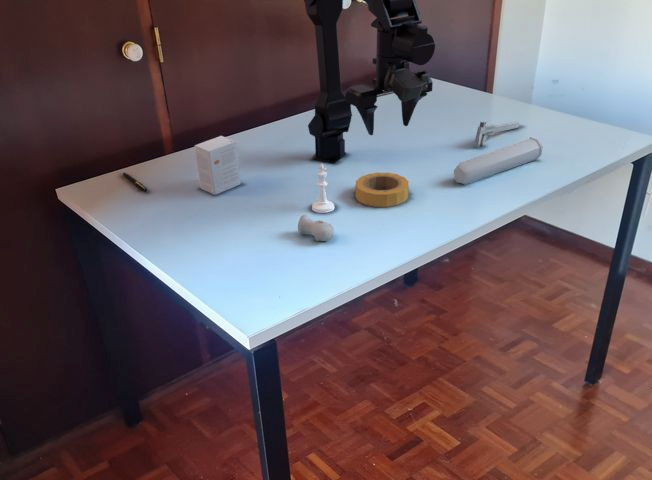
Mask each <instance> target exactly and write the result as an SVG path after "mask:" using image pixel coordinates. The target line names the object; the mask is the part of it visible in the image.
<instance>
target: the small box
mask: <svg viewBox="0 0 652 480" xmlns="http://www.w3.org/2000/svg"><path fill="white" fill-rule="evenodd" d="M237 143H238V142H237V140H234V139H231V138H228V137H226V136H223V135H219V136H217V137H214V138H211V139H208V140H206V141H203V142H200V143H197V144H195V145H194V152H195V157H196V158H195V160H196V167H197V173H198V180H199V187H200V189H201V190H203V191H205V192H207V193H210V194H212V195H214V196H217V195H219V194H221V193H224V192H226V191H228V190H231V189H233V188H235V187H238V186H241V185H242V179H241V171H240V161H239V153H238V144H237Z"/></svg>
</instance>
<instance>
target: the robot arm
mask: <svg viewBox="0 0 652 480" xmlns="http://www.w3.org/2000/svg"><path fill="white" fill-rule="evenodd" d="M362 1H363V2H365V3H366V4H367V8H368V9H367V10H368V11H369V12H370V14H372V15H373V16H374V17H375V19H374V20H373V21H372V22H371V23H370V27H372V28H375V29H376V57H372V64H373V65H375V66H376V67H375V78H372V85H374V86H375V87H369V86H366V85H364V84H358V85H354V86H349V87H348V88H347V89H346V91H345V92H343V90H342V80H341V79H342V78H341V66H340V65H341V64H340V53H339V52H340V51H339V37H338V22H339V19H340V17H341V15H342V13H343V9H344V6H343V5H344V0H303V2H304V6H305V7H304V8H305V12H306V15H307V16H308V18H309V20H310V21H311V23H312V24H313V25H314V33H315V43H316V56H317V67H318V69H317V70H318V79H319V90H320V92H319V94H318V97H317V99H316V102H315V104H314V116H313V117H312V119H311V120H310V121H309V123H308V125H307V127H308V133H309V135H311V136H312V137H314V144H315V145H314V149H315V152H314V153H315V154H314V155H313V156H312V160H314V161H320V162H325V163H331V164H336V163H338V162H339V161H341V159H342V158H344V157H345V156H346V155H347V152H346V140H345V138H344V133H349V130H350V125H351V122H352V117H353V112H352V106H354V107H355V108H356V109H357V111H358V114H359V115H360V117H361V119H362V122H363V124H364V126H365V129H366V132H367V134H368V135H369V136H374V132H375V131H374V130H375V111H376V110H377V108H378V105H376V103H377V101H378V98H380V97H383V96H388V95H392V94H395V96H396V97H397V99H398V100H399V101H400V102H401V103H400V104H401V117H402V118H401V119H402V125H403V126H404V127H408V126H409V124H410V121H411V119H412V116H413V113H414V111H415V109H416V106H417V104H418V103H419V101H421V100H422V99H423V98H424V97H426V96H428V93H430V92H433V84H434V82H433V79H432V78H431V76H430V72H428V71H427V70H426V69H423V70H422V69H421V70H418V71H411V69H410V63H411V64H413V65H417V66H424V65H426V64H428V63H430V61H431V60H432V58H433V56H434V54H435V50H436V43H435V40H434V38H433V36H432V35H431V33H428V31H429V27H428V25H423V24H422V23H423V21H422V17H421V13H420V10H419V8H418V6H417V3H416V0H362ZM421 24H422V25H421Z"/></svg>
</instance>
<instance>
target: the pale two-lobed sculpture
mask: <svg viewBox="0 0 652 480" xmlns="http://www.w3.org/2000/svg"><path fill="white" fill-rule="evenodd" d="M334 229H335V228H334V226H333V225H332V224H331V223H329V222H328V221H324V220H312V219H311V218H310V217H309V215H308V213H306V214H302V215H301V216H300V218H299V220H298V223H297V232H298V233H299V234H300V236H303V235H304V234H308V235H311V236H313V237H314V239H315V241H317V242H320V241H322V242H328V241H330V240H332V238H333V236H334V233H335V230H334Z"/></svg>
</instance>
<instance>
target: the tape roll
mask: <svg viewBox="0 0 652 480" xmlns="http://www.w3.org/2000/svg"><path fill="white" fill-rule="evenodd" d="M409 185H410V183H409V180H408V179H407V178H406V177H405V176H402V175H400V174H398V173H393V172H372V173H368V174H365V175H362V176H360V177H358V179H356V180H355V198H356V200H357V201H358V202H359V203H361V204H363V205H365V206H369V207H374V208H390V207H396V206H398V205H401V204H403V203H405V202H406V201H407V200H408V199H409V188H410V187H409Z"/></svg>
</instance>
